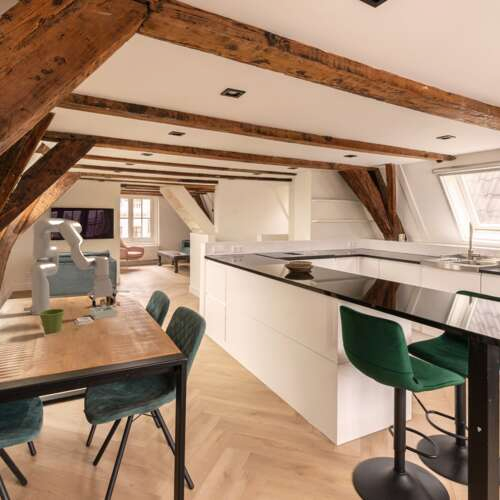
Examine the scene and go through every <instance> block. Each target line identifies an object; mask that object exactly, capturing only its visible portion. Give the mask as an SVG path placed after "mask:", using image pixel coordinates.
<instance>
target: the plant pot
mask: <svg viewBox="0 0 500 500" xmlns="http://www.w3.org/2000/svg"><path fill="white" fill-rule="evenodd" d="M65 312H66V311H65V309H63V308H51V309H49V310H44V311H41V312H39V313H38V314H39V317H40V319H41V323H42V328H43V331H44V335H46V336H48V334H56V333H59V332H61V331H62V325H63V317H64V313H65Z"/></svg>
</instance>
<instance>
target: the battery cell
mask: <svg viewBox="0 0 500 500" xmlns="http://www.w3.org/2000/svg"><path fill="white" fill-rule="evenodd" d="M107 306H108V305H107V300H106V298H102V299H100V300H99V307H100V311H107Z"/></svg>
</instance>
